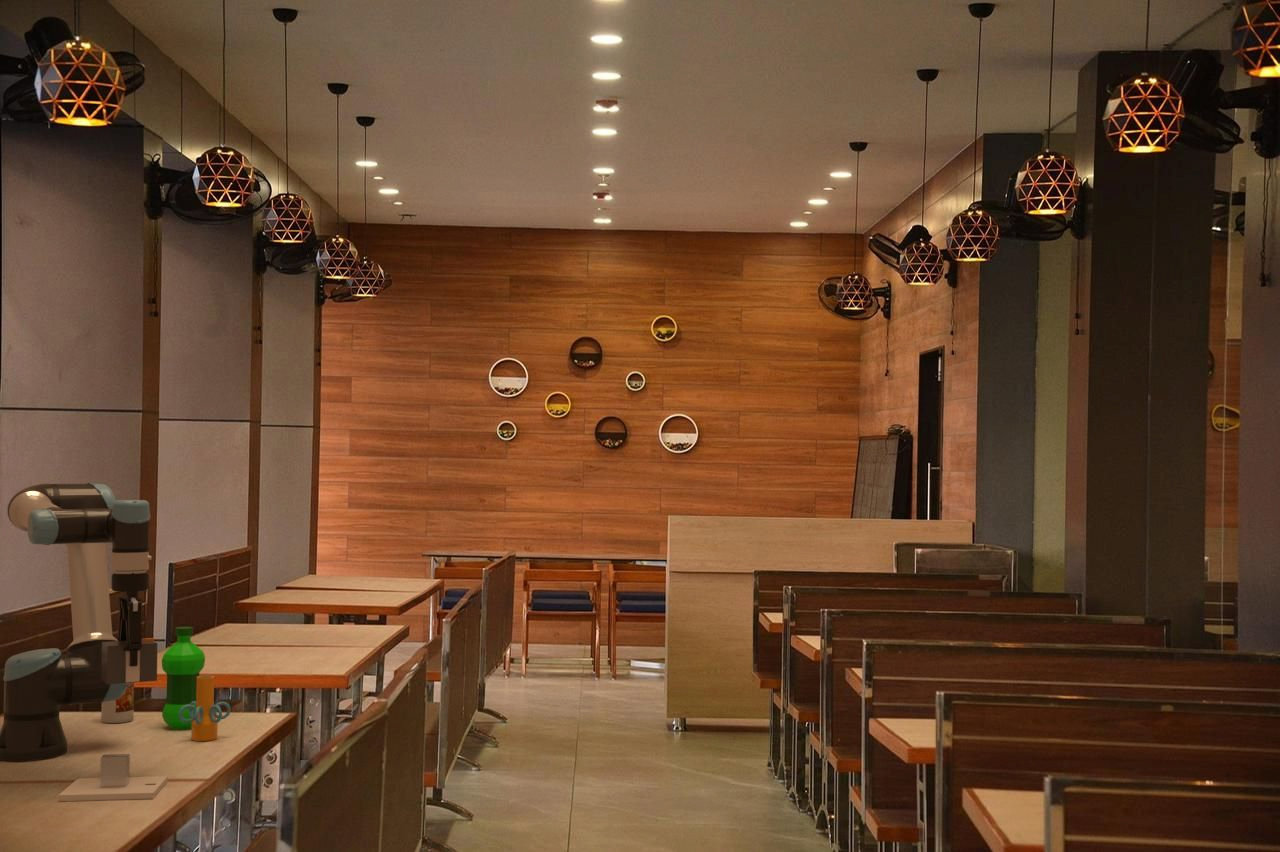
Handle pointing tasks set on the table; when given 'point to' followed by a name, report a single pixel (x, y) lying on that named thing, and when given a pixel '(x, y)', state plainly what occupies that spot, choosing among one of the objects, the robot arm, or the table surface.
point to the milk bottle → (119, 707)
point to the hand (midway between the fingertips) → (129, 678)
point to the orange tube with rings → (204, 711)
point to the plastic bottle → (181, 677)
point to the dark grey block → (117, 661)
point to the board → (113, 792)
